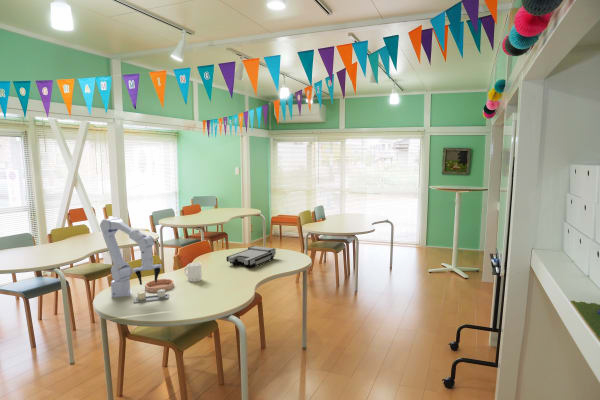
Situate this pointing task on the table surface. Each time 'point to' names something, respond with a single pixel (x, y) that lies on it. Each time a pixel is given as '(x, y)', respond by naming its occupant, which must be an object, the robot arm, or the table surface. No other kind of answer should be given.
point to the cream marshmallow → (141, 296)
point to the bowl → (159, 285)
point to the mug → (193, 272)
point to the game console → (252, 256)
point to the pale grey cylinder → (161, 293)
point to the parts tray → (151, 298)
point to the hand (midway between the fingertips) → (148, 283)
